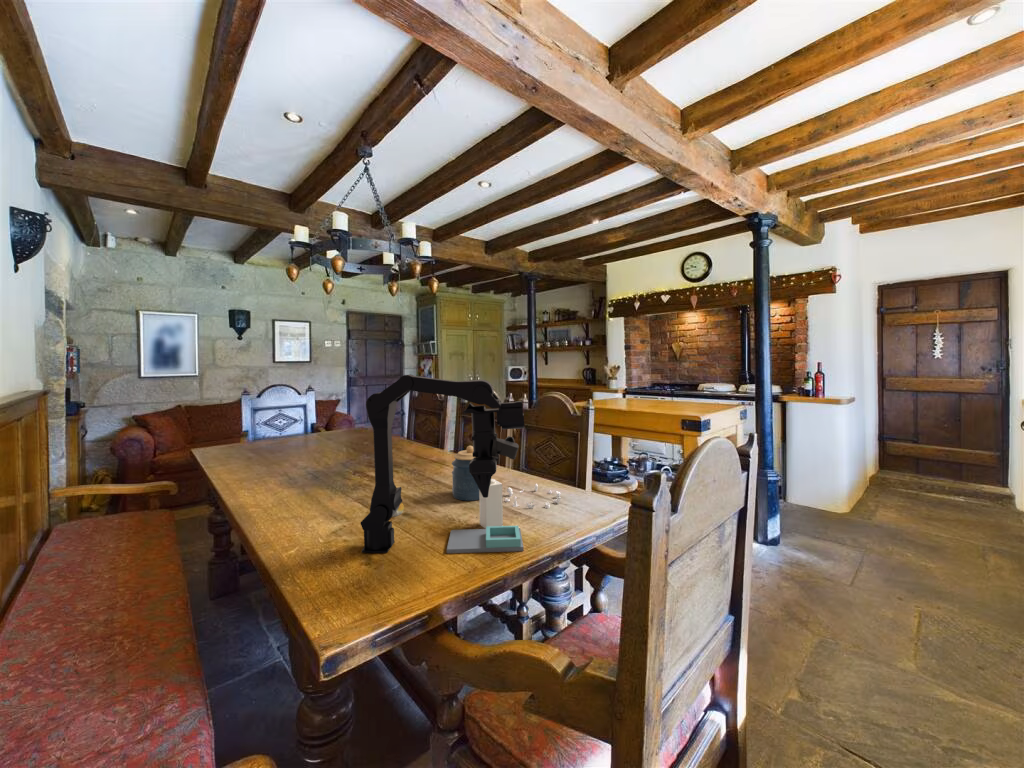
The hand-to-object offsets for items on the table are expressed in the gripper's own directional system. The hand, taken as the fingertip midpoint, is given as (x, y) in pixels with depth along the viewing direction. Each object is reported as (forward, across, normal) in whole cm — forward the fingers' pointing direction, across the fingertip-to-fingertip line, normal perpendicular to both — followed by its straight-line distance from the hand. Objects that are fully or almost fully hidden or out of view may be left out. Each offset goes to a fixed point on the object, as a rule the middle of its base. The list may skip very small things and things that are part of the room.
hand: (486, 491), depth 108 cm
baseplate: (+14, +3, +1) cm, 15 cm away
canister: (+14, +42, +9) cm, 45 cm away
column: (+14, +14, 0) cm, 20 cm away
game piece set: (+16, +37, -13) cm, 42 cm away
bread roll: (+14, +25, +33) cm, 43 cm away
